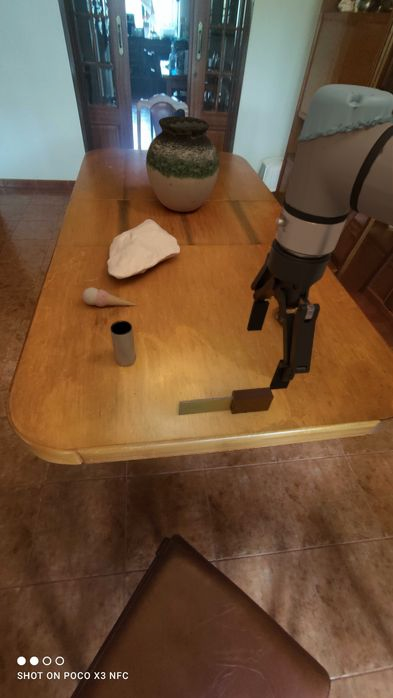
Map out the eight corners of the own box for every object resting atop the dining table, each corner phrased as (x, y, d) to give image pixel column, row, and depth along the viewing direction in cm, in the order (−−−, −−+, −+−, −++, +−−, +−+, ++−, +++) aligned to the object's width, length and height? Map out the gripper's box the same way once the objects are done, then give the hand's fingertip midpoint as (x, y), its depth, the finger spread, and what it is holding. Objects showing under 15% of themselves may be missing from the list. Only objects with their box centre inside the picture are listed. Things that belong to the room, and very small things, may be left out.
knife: (264, 400, 69) (270, 386, 65) (268, 410, 67) (274, 396, 64) (177, 409, 66) (178, 395, 62) (179, 419, 64) (180, 406, 61)
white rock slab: (188, 236, 114) (185, 211, 108) (168, 293, 90) (163, 264, 84) (126, 237, 118) (120, 213, 112) (91, 292, 94) (81, 265, 87)
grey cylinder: (128, 349, 76) (124, 317, 69) (139, 360, 74) (136, 328, 67) (112, 358, 74) (105, 326, 67) (123, 370, 72) (118, 338, 65)
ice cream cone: (139, 301, 91) (85, 290, 87) (141, 294, 87) (84, 282, 83) (136, 316, 90) (81, 306, 86) (138, 310, 85) (80, 298, 82)
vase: (157, 224, 122) (154, 133, 100) (141, 195, 140) (136, 112, 118) (224, 218, 130) (236, 132, 108) (201, 191, 148) (207, 113, 126)
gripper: (247, 202, 48) (228, 311, 63) (316, 308, 31) (266, 420, 47) (294, 202, 49) (263, 309, 64) (384, 304, 32) (314, 415, 48)
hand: (265, 356), depth 56 cm, fingers open, 13 cm apart
